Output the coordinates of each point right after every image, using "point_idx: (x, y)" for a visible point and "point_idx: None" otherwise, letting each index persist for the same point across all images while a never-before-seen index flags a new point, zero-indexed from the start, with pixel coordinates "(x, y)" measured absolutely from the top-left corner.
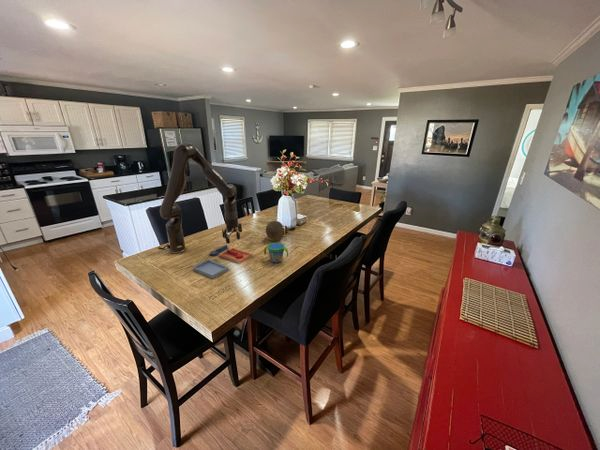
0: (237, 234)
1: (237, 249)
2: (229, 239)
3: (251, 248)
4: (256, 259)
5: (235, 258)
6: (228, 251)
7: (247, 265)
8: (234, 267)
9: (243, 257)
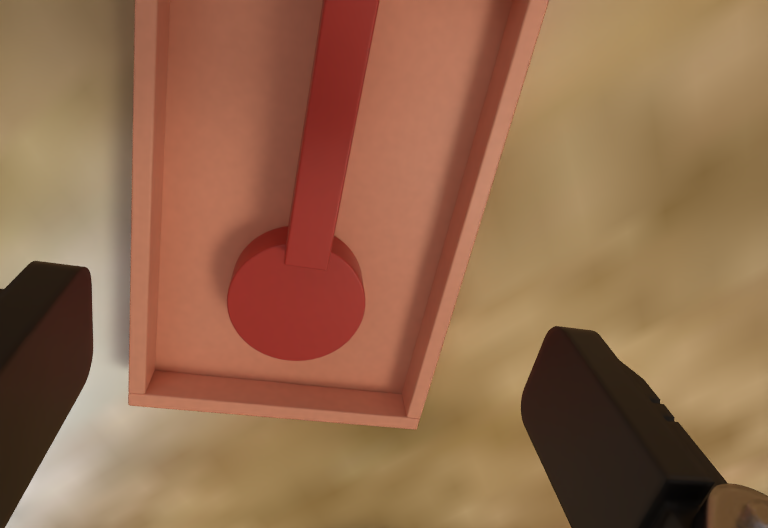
0: (612, 508)
1: (496, 133)
2: (9, 506)
3: (669, 255)
4: (356, 481)
5: (226, 251)
6: (321, 17)
7: (163, 477)
8: None
9: None
